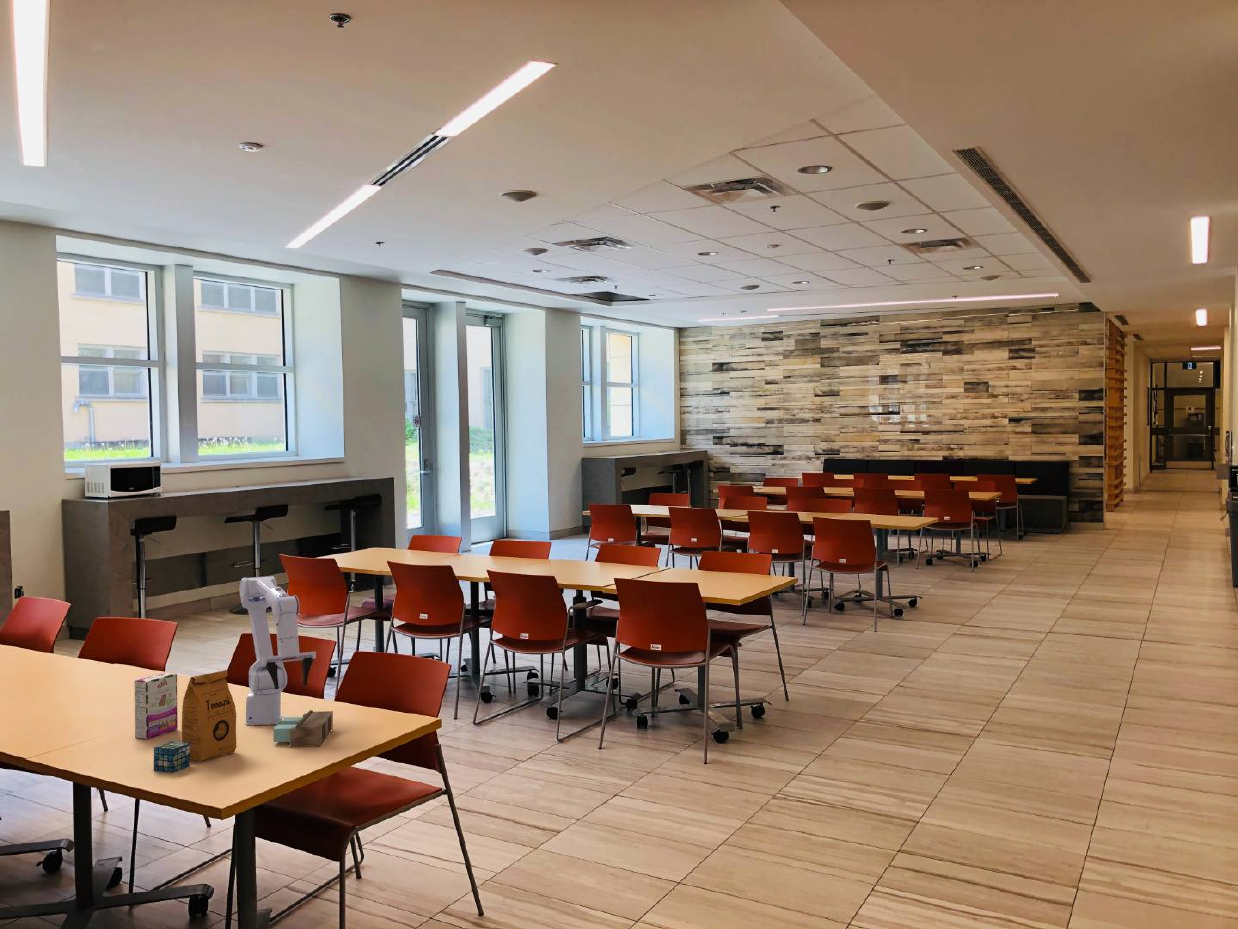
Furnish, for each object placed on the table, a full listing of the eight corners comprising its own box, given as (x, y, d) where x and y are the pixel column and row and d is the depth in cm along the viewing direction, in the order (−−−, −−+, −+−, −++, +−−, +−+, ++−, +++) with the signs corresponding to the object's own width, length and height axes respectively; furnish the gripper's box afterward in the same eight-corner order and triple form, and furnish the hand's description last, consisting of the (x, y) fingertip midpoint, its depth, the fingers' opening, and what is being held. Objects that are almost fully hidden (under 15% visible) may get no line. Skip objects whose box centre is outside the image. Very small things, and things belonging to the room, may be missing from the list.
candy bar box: (164, 728, 280) (165, 671, 280) (178, 730, 278) (178, 673, 278) (133, 738, 269) (133, 679, 269) (146, 740, 268) (147, 681, 268)
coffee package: (241, 754, 255) (242, 670, 255) (198, 765, 245) (199, 679, 245) (219, 747, 261) (220, 666, 261) (176, 759, 250) (177, 674, 251)
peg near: (273, 742, 263) (273, 728, 263) (277, 737, 267) (277, 725, 267) (303, 741, 264) (303, 728, 264) (306, 737, 268) (306, 724, 268)
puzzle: (170, 764, 246) (170, 741, 246) (190, 766, 244) (190, 743, 244) (153, 771, 240) (153, 747, 240) (172, 773, 239) (173, 749, 239)
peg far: (280, 734, 271) (280, 721, 271) (284, 730, 275) (284, 717, 275) (309, 733, 272) (310, 720, 272) (313, 729, 276) (313, 717, 276)
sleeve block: (289, 747, 261) (290, 726, 261) (304, 730, 278) (304, 710, 278) (320, 746, 262) (320, 725, 262) (332, 730, 279) (332, 710, 279)
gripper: (263, 641, 267) (266, 691, 264) (316, 635, 274) (320, 683, 272) (259, 642, 273) (262, 691, 270) (311, 636, 280) (315, 684, 278)
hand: (291, 687), depth 271 cm, fingers open, 7 cm apart
